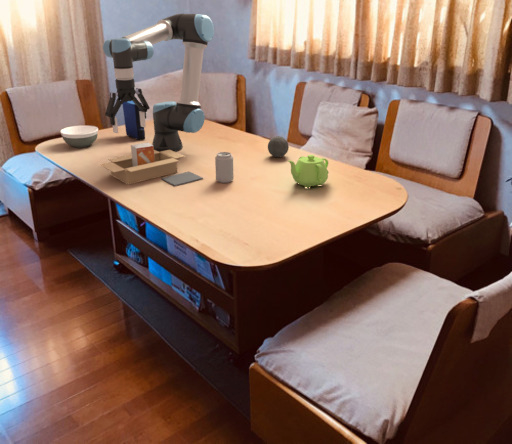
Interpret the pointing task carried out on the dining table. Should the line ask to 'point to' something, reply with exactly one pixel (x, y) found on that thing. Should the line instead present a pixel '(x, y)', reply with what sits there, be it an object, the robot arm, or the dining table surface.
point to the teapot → (310, 170)
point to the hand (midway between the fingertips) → (129, 129)
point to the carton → (143, 167)
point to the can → (224, 167)
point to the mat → (181, 178)
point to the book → (133, 121)
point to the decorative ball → (278, 146)
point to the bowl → (79, 135)
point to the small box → (142, 154)
